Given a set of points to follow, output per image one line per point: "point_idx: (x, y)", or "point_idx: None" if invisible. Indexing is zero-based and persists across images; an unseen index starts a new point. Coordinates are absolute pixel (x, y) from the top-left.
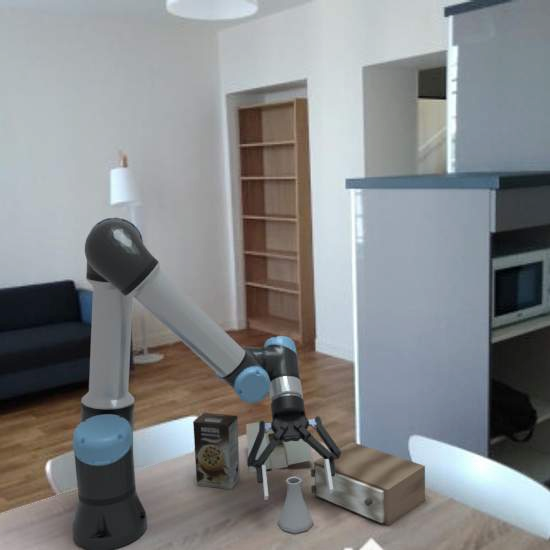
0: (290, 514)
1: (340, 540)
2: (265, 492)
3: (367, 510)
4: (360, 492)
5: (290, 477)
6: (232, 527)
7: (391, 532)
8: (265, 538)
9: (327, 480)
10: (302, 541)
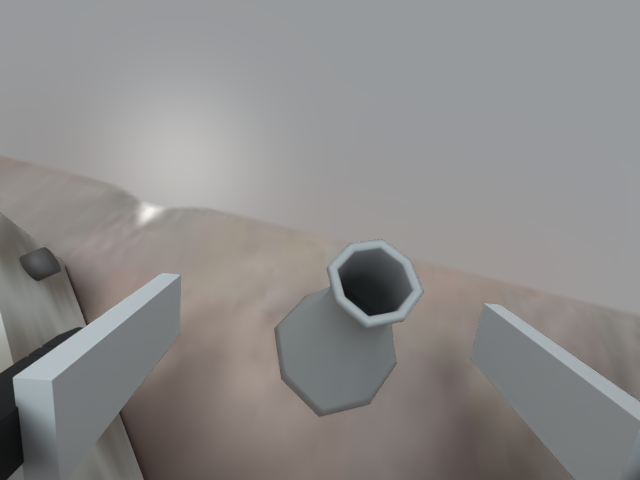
0: (366, 297)
1: (228, 233)
2: (505, 311)
3: (63, 296)
4: (25, 299)
5: (394, 315)
6: None
7: (67, 229)
8: (431, 294)
9: (152, 333)
10: (330, 254)
